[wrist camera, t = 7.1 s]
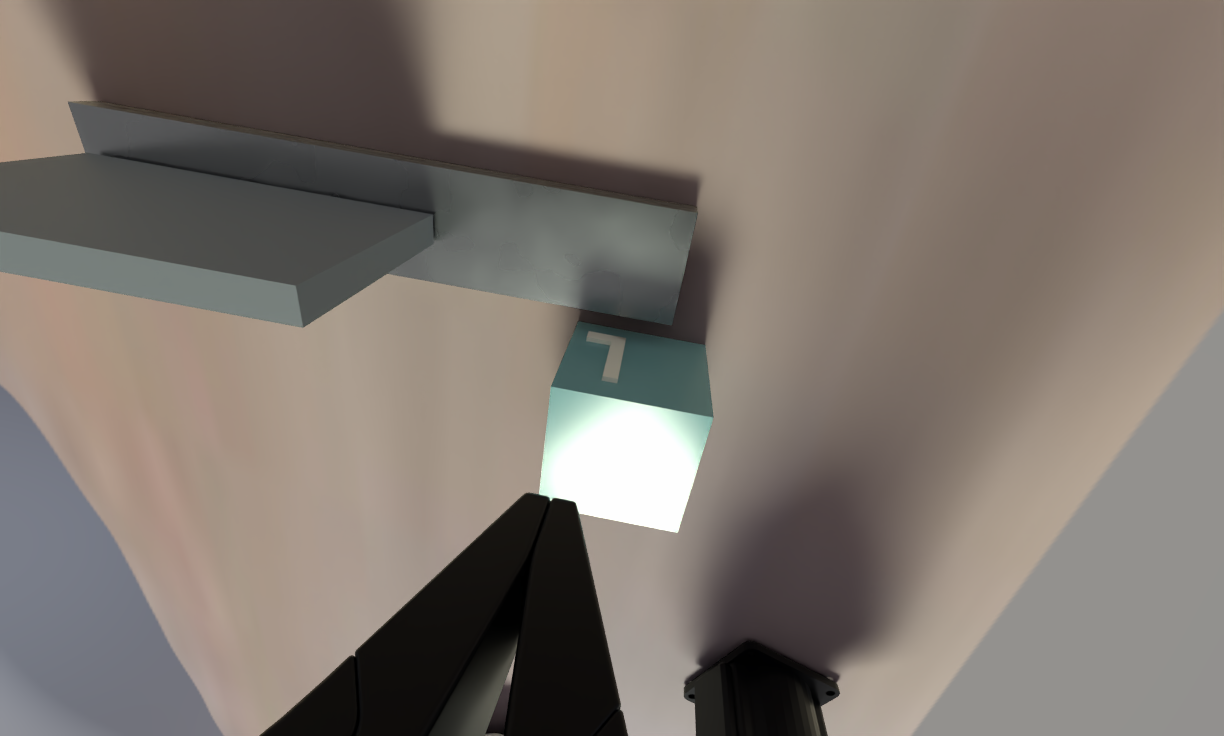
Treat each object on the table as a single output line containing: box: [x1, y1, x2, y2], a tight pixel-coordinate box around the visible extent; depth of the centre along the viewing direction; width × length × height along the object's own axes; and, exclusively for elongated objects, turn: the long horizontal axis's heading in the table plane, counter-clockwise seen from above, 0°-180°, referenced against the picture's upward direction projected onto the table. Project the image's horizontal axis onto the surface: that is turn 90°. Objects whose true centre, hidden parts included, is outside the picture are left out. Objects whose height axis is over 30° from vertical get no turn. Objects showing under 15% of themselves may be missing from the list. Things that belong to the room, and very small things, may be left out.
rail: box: [68, 101, 698, 325], centre depth 18 cm, size 21×4×1 cm, turn 82°
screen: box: [0, 153, 434, 328], centre depth 14 cm, size 12×1×7 cm, turn 82°
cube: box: [539, 321, 713, 533], centre depth 19 cm, size 5×5×5 cm
